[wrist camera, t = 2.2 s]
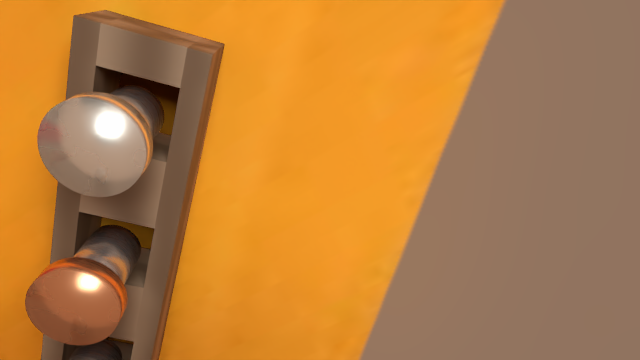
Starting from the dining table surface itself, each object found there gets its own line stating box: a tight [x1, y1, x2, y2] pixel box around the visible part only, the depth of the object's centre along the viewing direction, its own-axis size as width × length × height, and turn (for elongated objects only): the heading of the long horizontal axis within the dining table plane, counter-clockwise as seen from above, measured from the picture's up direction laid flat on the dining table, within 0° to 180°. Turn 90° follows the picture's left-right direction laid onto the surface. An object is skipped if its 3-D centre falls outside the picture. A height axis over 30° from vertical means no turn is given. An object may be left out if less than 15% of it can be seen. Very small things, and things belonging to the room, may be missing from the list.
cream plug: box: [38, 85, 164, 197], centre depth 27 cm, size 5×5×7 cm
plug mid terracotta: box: [25, 225, 141, 345], centre depth 31 cm, size 5×5×7 cm
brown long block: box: [41, 10, 224, 360], centre depth 36 cm, size 8×30×5 cm, turn 164°
